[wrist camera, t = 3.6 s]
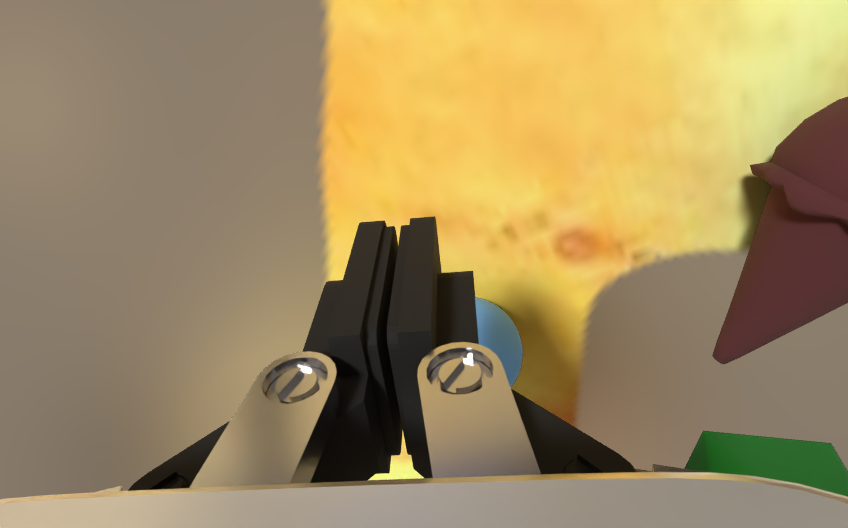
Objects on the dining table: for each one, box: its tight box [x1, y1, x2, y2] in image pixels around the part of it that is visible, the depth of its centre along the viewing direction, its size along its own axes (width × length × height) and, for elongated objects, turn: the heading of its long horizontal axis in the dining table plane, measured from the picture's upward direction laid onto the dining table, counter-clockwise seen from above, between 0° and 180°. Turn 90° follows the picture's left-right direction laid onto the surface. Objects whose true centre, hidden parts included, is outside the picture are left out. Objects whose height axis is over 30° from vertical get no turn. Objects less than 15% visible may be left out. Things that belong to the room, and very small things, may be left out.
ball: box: [475, 297, 523, 388], centre depth 25 cm, size 5×5×5 cm
